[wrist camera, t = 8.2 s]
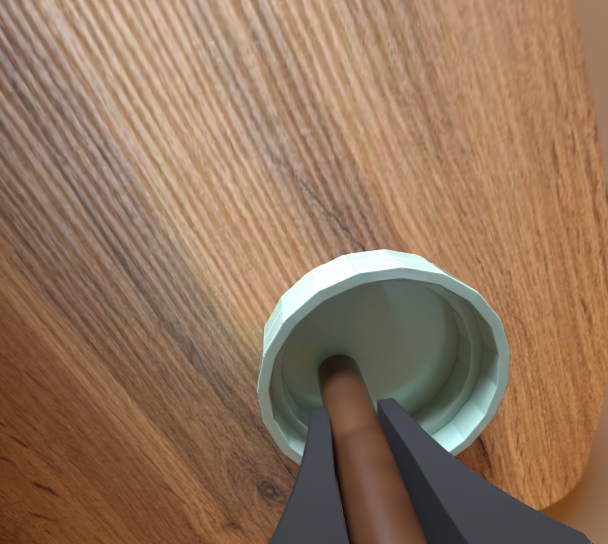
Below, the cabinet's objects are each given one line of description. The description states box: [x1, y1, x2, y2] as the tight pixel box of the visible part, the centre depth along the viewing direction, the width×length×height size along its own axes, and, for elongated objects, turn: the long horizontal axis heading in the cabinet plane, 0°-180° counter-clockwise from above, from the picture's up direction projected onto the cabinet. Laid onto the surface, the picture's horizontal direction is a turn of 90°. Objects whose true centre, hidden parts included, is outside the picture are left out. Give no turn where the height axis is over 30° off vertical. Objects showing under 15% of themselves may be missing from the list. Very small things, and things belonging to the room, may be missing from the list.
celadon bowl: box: [257, 249, 510, 482], centre depth 16 cm, size 11×11×3 cm
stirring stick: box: [318, 355, 428, 544], centre depth 12 cm, size 2×2×9 cm
